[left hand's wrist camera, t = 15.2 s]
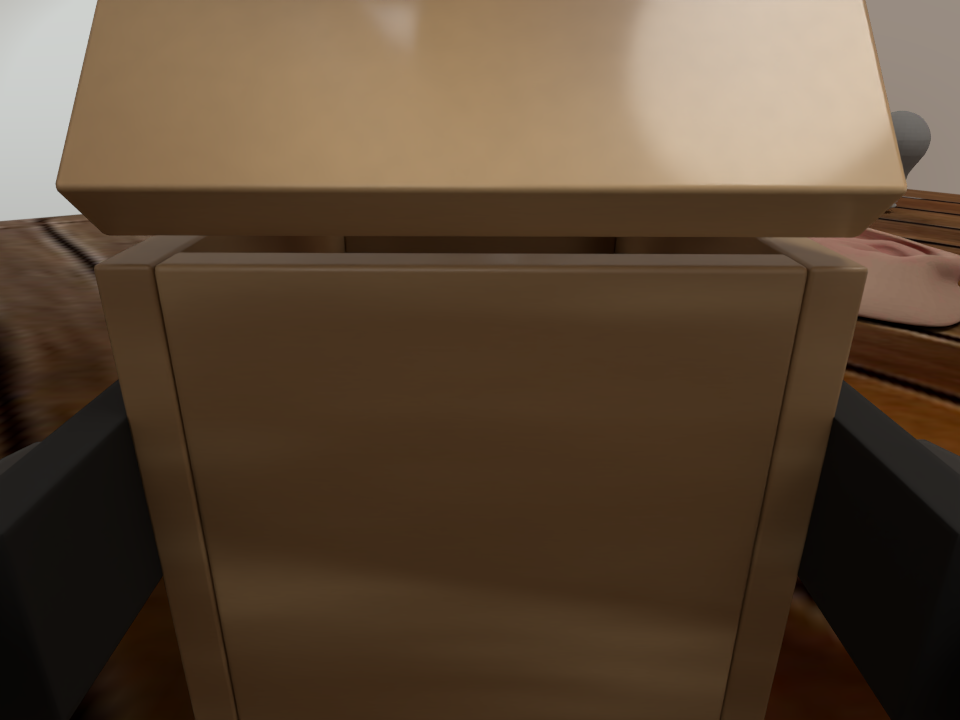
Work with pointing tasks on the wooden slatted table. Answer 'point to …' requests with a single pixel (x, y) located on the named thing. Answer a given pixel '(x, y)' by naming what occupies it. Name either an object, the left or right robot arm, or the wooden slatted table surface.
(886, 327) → the wooden slatted table surface
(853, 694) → the wooden slatted table surface
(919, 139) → the light bulb
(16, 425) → the wooden slatted table surface
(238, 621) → the chest
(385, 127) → the lid
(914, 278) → the anatomical model
